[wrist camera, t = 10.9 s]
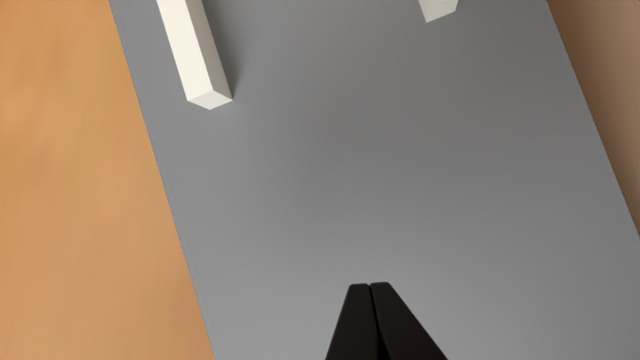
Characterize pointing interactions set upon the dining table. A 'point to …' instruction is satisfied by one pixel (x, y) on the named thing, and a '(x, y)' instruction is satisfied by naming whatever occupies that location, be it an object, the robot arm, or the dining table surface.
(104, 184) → the dining table surface
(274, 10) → the platform
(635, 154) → the dining table surface
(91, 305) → the dining table surface
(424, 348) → the robot arm
